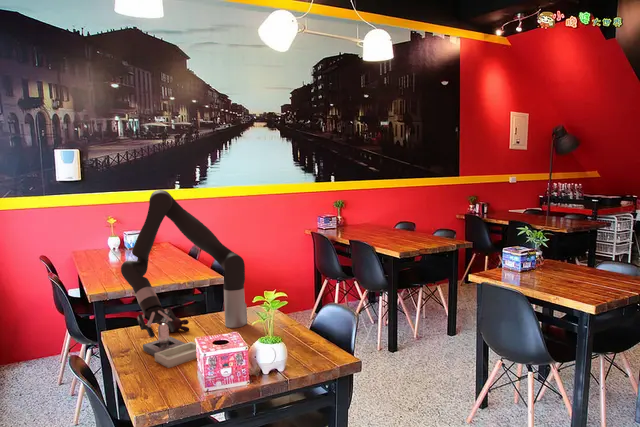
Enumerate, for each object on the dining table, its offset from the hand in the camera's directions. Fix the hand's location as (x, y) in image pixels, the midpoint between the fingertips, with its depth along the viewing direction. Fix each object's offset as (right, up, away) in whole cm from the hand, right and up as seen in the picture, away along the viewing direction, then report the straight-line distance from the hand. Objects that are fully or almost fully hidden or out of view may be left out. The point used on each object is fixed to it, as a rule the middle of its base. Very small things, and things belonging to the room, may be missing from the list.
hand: (163, 333), depth 190 cm
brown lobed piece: (-3, -5, +23) cm, 23 cm away
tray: (+9, -7, -8) cm, 14 cm away
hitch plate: (0, -7, +1) cm, 7 cm away
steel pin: (0, -7, +1) cm, 7 cm away
